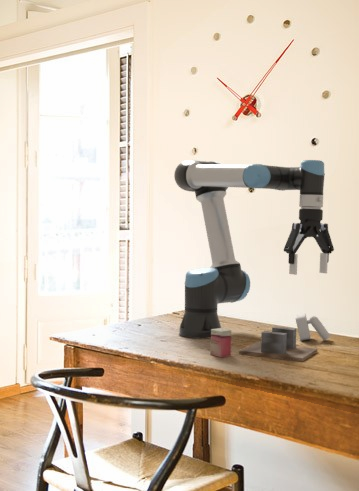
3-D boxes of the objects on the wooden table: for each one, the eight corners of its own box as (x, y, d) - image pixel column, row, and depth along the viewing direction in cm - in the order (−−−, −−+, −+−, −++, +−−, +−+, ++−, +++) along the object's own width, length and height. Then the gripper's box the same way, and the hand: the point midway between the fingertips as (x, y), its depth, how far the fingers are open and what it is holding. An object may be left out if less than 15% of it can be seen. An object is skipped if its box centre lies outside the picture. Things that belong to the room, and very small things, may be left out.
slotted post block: (239, 353, 196) (239, 331, 196) (257, 344, 210) (258, 323, 210) (302, 361, 187) (302, 337, 187) (317, 351, 201) (318, 329, 201)
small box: (209, 354, 194) (210, 328, 194) (220, 352, 197) (220, 327, 197) (220, 357, 190) (221, 331, 190) (231, 355, 193) (232, 330, 193)
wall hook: (331, 341, 216) (325, 312, 216) (301, 346, 218) (295, 318, 218) (331, 337, 224) (325, 309, 224) (301, 342, 226) (295, 314, 226)
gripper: (290, 207, 196) (287, 276, 197) (346, 209, 210) (343, 273, 211) (274, 207, 203) (271, 273, 204) (329, 209, 216) (326, 271, 217)
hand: (308, 273), depth 207 cm, fingers open, 13 cm apart
